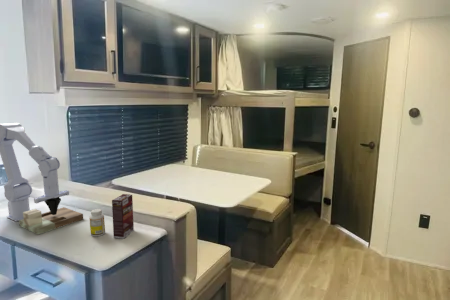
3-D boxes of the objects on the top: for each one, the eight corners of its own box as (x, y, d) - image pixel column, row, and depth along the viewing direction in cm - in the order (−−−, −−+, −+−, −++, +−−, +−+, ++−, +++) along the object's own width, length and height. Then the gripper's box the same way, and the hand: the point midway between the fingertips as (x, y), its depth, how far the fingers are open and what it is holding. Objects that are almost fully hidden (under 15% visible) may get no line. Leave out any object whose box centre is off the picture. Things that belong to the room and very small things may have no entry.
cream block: (24, 223, 133) (22, 212, 133) (36, 219, 138) (35, 208, 137) (29, 226, 131) (28, 214, 130) (42, 222, 135) (41, 211, 134)
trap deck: (19, 225, 137) (19, 220, 137) (64, 212, 154) (63, 207, 153) (38, 234, 129) (37, 228, 128) (83, 219, 145) (82, 213, 144)
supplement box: (124, 239, 124) (122, 201, 122) (113, 238, 125) (110, 200, 123) (134, 230, 133) (132, 194, 130) (124, 229, 134) (122, 193, 131)
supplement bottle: (97, 230, 133) (96, 207, 131) (108, 232, 131) (106, 209, 129) (87, 235, 127) (85, 211, 126) (98, 238, 125) (96, 213, 124)
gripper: (38, 190, 131) (41, 221, 133) (71, 182, 143) (74, 211, 145) (30, 187, 135) (33, 217, 137) (63, 180, 147) (65, 208, 149)
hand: (53, 214), depth 141 cm, fingers closed
